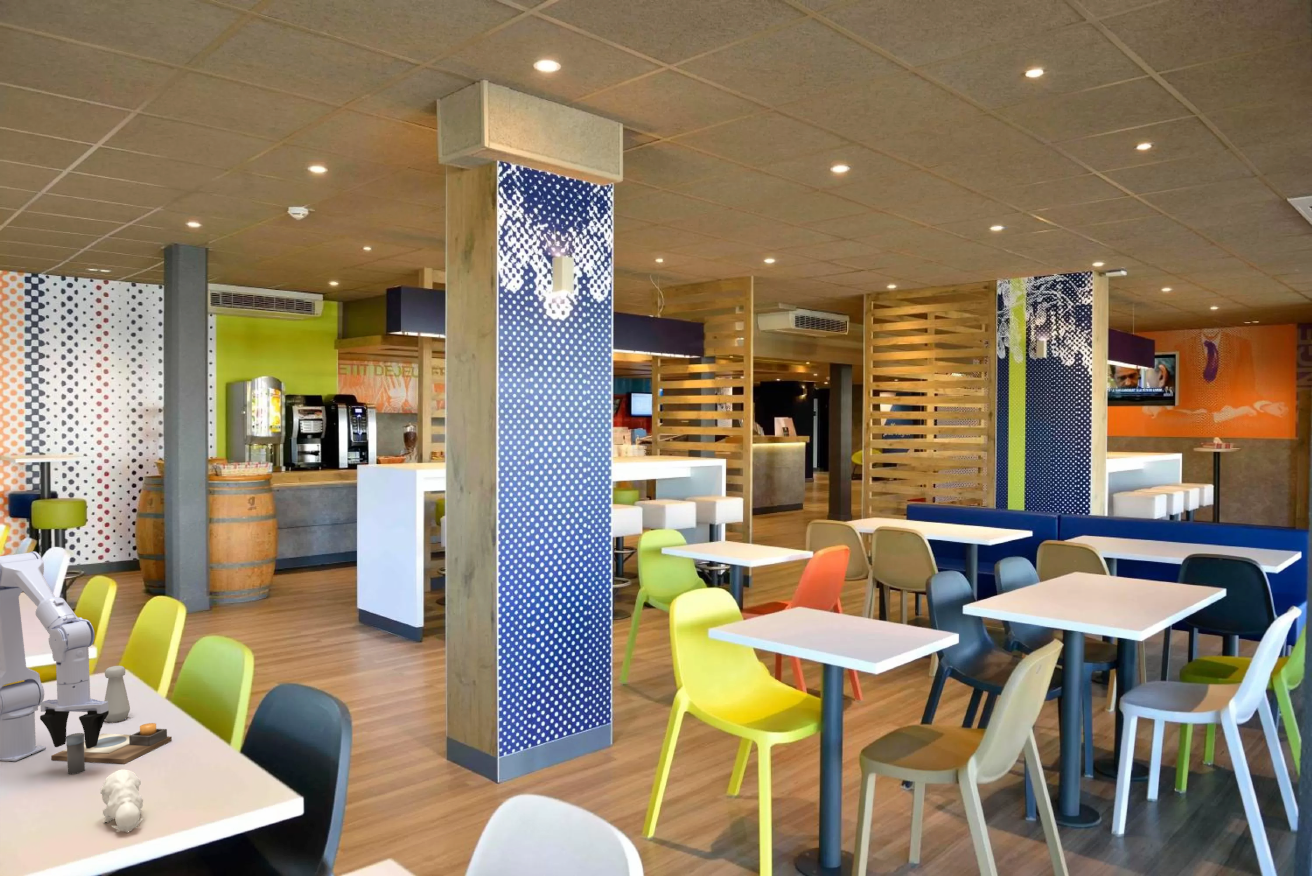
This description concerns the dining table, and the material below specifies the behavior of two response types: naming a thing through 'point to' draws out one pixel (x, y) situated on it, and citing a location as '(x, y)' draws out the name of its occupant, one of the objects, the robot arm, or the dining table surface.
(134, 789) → the white crouching figurine
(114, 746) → the board
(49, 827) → the dining table surface
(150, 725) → the button
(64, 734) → the robot arm
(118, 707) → the salt shaker
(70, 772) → the cylinder
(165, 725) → the dining table surface
